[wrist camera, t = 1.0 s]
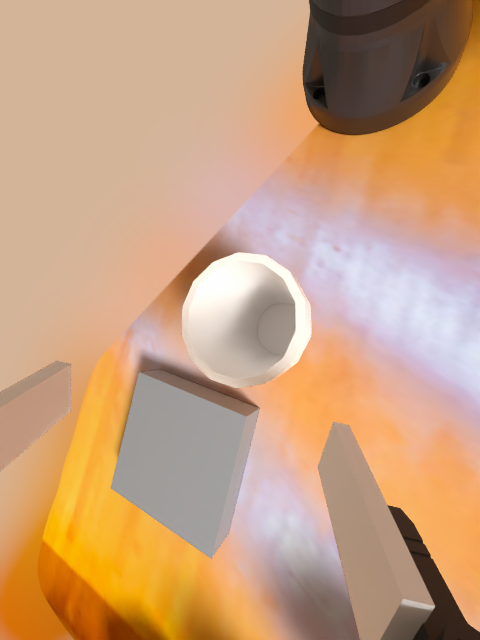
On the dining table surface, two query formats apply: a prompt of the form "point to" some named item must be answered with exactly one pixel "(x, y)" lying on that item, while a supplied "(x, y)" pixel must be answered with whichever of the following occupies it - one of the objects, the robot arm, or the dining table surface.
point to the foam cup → (245, 320)
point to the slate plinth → (185, 456)
